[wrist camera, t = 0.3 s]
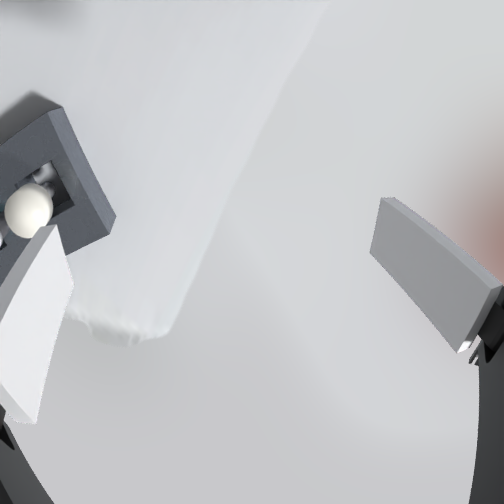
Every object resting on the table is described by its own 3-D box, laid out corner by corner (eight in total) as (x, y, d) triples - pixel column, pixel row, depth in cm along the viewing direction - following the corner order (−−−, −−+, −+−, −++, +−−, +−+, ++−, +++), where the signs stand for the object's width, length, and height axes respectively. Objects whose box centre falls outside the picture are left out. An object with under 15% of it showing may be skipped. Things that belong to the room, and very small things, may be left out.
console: (-45, 190, 29) (-62, 203, 25) (62, 107, 29) (47, 111, 25) (7, 274, 38) (-5, 294, 34) (116, 216, 38) (109, 234, 34)
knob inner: (24, 182, 29) (-3, 206, 23) (54, 162, 29) (29, 182, 23) (42, 216, 32) (20, 245, 26) (73, 198, 32) (53, 225, 26)
